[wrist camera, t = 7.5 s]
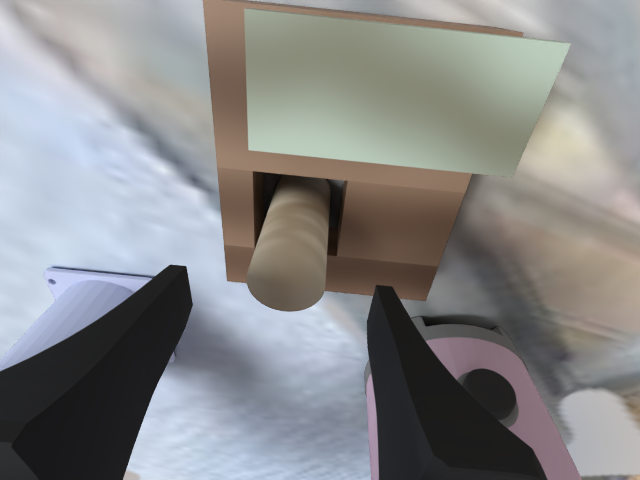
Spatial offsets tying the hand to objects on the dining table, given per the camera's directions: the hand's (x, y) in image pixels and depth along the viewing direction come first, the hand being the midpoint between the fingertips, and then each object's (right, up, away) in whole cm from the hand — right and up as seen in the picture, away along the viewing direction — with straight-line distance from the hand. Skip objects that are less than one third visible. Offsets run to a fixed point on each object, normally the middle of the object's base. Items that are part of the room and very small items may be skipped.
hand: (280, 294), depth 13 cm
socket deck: (+3, +6, +6) cm, 9 cm away
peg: (+1, +5, +7) cm, 9 cm away
